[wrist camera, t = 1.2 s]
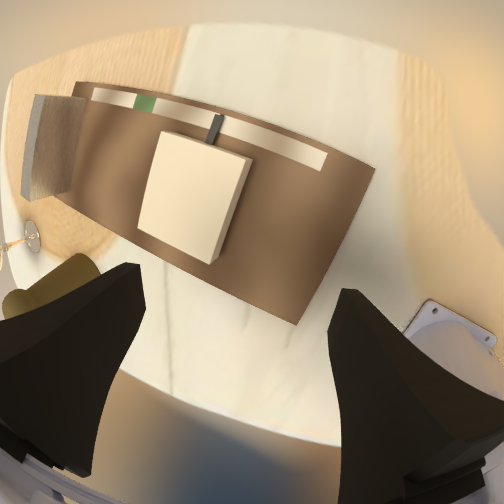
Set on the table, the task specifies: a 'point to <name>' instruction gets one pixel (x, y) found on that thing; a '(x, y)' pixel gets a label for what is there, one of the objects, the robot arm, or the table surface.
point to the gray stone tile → (51, 145)
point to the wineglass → (25, 240)
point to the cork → (51, 286)
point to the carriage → (193, 192)
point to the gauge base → (249, 203)
